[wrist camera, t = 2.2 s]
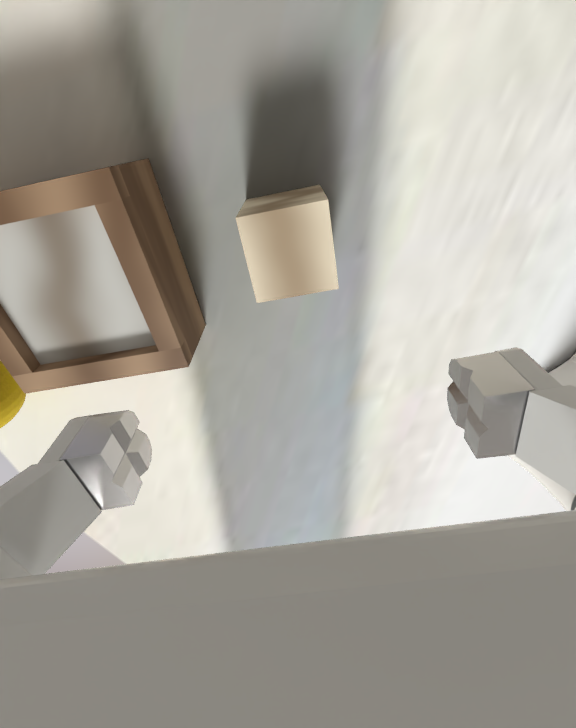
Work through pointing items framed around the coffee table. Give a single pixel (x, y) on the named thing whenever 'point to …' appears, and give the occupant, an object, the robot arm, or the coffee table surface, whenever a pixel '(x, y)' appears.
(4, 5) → the coffee table surface
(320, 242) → the ash block
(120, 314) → the walnut frame
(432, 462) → the coffee table surface
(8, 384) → the lemon
